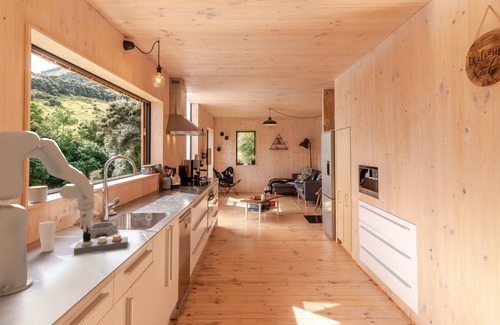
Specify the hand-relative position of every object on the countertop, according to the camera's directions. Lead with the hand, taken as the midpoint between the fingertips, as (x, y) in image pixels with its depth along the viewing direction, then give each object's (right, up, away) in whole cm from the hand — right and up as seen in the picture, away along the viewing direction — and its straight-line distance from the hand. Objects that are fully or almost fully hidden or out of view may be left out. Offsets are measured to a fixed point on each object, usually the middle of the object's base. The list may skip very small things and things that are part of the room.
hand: (86, 241), depth 139 cm
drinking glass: (-20, -5, 0) cm, 21 cm away
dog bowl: (-9, -4, +30) cm, 32 cm away
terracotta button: (+13, -2, +6) cm, 14 cm away
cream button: (+7, -2, +3) cm, 7 cm away
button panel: (+7, -5, +3) cm, 8 cm away
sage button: (0, -3, 0) cm, 3 cm away
